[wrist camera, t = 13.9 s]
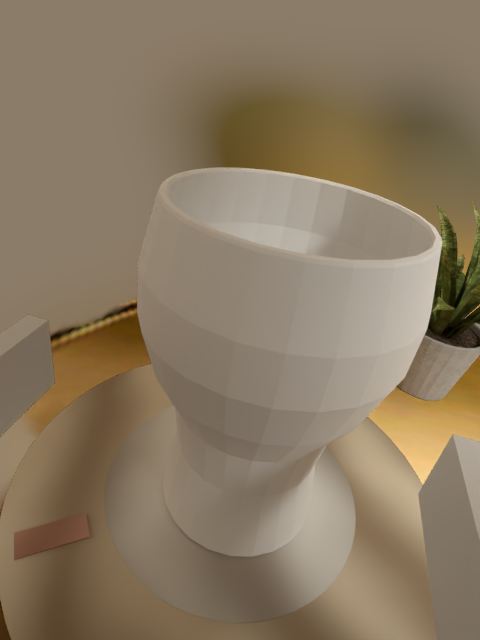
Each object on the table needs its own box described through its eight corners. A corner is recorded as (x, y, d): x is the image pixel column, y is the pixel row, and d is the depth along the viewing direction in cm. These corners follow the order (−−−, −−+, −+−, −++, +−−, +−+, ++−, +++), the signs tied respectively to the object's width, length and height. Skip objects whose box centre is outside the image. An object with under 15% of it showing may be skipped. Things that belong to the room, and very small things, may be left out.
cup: (87, 531, 19) (62, 202, 11) (189, 391, 28) (215, 151, 20) (316, 639, 17) (487, 320, 9) (348, 449, 25) (449, 204, 18)
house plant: (544, 411, 38) (667, 239, 29) (469, 477, 30) (609, 268, 21) (409, 329, 47) (472, 180, 38) (324, 364, 39) (380, 185, 30)
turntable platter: (297, 354, 36) (301, 339, 35) (538, 636, 19) (556, 620, 19) (4, 402, 27) (0, 383, 26) (-8, 1008, 10) (-20, 1009, 10)
